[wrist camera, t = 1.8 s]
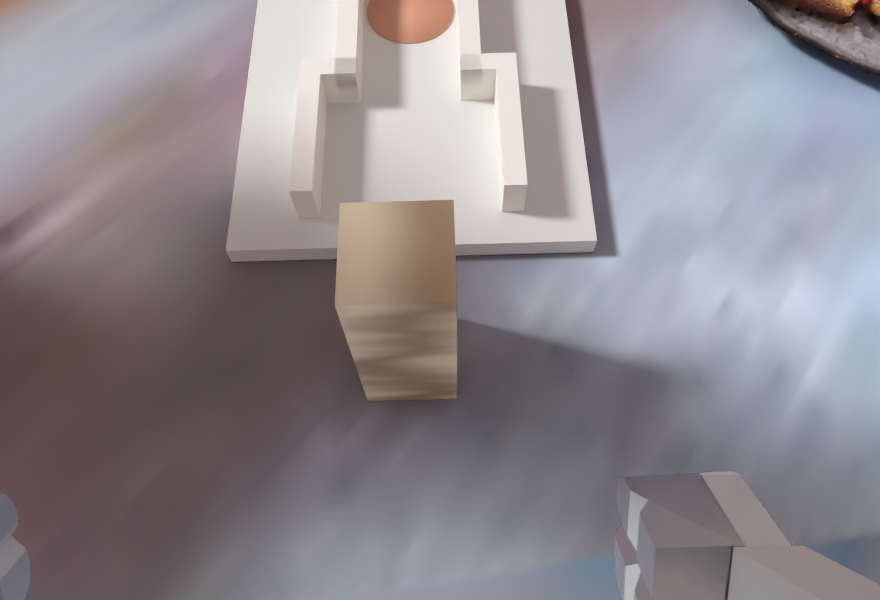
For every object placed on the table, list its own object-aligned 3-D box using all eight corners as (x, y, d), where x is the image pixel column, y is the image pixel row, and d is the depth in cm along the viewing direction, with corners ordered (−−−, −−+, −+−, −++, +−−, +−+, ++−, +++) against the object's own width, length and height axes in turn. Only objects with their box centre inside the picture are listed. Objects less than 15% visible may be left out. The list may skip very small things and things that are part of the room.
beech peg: (367, 401, 37) (334, 305, 27) (369, 319, 39) (339, 203, 29) (457, 398, 37) (457, 302, 27) (454, 317, 39) (453, 199, 29)
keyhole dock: (231, 261, 40) (211, 226, 37) (266, -17, 50) (252, -66, 47) (593, 251, 40) (605, 215, 37) (557, -27, 50) (564, -76, 47)
